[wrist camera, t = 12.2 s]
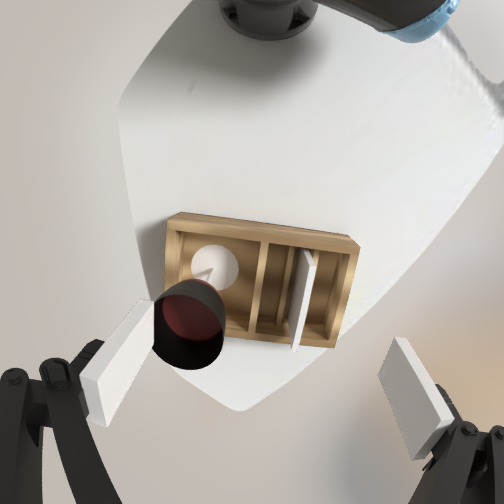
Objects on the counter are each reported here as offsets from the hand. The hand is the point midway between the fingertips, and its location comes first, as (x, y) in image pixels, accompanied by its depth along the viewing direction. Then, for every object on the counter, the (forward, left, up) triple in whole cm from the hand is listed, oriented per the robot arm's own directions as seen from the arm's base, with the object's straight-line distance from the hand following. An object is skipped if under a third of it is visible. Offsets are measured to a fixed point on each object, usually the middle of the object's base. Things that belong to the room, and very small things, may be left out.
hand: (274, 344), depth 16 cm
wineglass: (+8, -7, -32) cm, 34 cm away
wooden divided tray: (+8, -1, -33) cm, 34 cm away
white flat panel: (+8, +5, -33) cm, 34 cm away
